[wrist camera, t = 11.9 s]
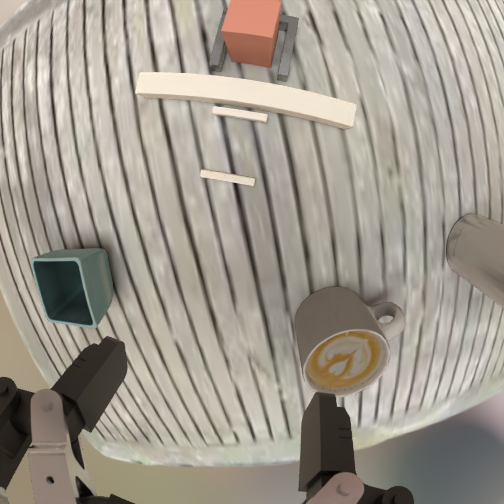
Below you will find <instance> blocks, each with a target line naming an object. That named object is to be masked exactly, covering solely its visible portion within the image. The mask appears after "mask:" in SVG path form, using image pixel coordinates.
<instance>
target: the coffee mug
mask: <svg viewBox="0 0 504 504" xmlns="http://www.w3.org/2000/svg"><path fill="white" fill-rule="evenodd" d="M386 315H390V316H392V317H394V318H393V320H391V321H390V322H389V323H386V324H384V323H380V322H378V320H379V318H381V317H383V316H386ZM404 327H405V316H404V313H403V311H402V310H401V308H400V307H399V306H397V305H396V304H394V303H392V302H383V303H380V304H377V305H374V306H368V305H366V304H365V303H364V302H363V301H362V299H361V298H360V297H359V296H358V295H357V294H356V293H355V292H354V291H352V290H350V289H347V288H344V287H328V288H323V289H321V290H318V291H316V292H314V293H313V294H311V295H310V296H309V297H307V298H306V299H305V300H304V301H303V302H302V304H301V305H300V307H299V309H298V311H297V313H296V316H295V329H296V335H297V342H298V348H299V354H300V361H301V367H302V374H303V378H304V381H305V383H306V384H307V386H308V387H309V388H310V389H311V390H312V391H314V392H323V393H331V394H335V396H336V397H345V396H349V395H353V394H356V393H358V392H361V391H363V390H364V389H366V388H368V387H370V386H371V385H372V384H373V383H375V382H376V381H377V380H378V379H379V378H380V377H381V375H382V374H383V373H384V371H385V370H386V368H387V366H388V363H389V359H390V348H389V345H388V342H387V341H388V340H389V339H391V338H393V337H395V336H397V335H398V334H399V333H401V331H402V330H403V329H404Z"/></svg>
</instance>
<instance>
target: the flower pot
mask: <svg viewBox="0 0 504 504" xmlns="http://www.w3.org/2000/svg"><path fill="white" fill-rule="evenodd" d="M31 267H32V271H33V274H34V278H35V282H36V286H37V289H38V292H39V296H40V299H41V303H42V306H43V309H44V312H45V315H46V318H47V320H48V321H50V322H53V323H60V324H67V325H74V326H80V327H87V328H97V326H98V324H99V323H100V321H101V320H102V318H103V316H104V315H105V313H106V312H107V310H108V308H109V306H110V304H111V301H112V297H113V281H112V276H111V272H110V267H109V261H108V255H107V252H106V251H105V250H104V249H101V248H91V249H62V250H56V251H52V252H49V253H46V254H43V255H40V256H37V257H34V258H32V259H31Z"/></svg>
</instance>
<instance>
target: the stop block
mask: <svg viewBox="0 0 504 504" xmlns="http://www.w3.org/2000/svg"><path fill="white" fill-rule="evenodd" d="M280 10H281V1H279V0H231V1H230V4H229V7H228V10H227V13H226V16H225V20H224V23H223V26H222V30H221V32H222V35H223V37H224V40H225V43H226V46H227V49H228V52H229V54H230V57H231V60H232V62H238V63H245V64H252V65H258V66H264V67H269V68H271V63H272V59H273V55H274V50H275V46H276V42H277V38H278V29H279V20H280Z"/></svg>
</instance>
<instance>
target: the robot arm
mask: <svg viewBox="0 0 504 504" xmlns="http://www.w3.org/2000/svg"><path fill="white" fill-rule="evenodd" d="M447 259H448V263H449V265H450V267H451V268H452V269H453V270H454V271H455V272H456V273H458V274H459V275H460V276H462V277H463V278H464V279H466V280H467V281H468V282H470V283H471V284H472V285H474V286H475V287H476V288H478V289H479V290H480V291H482V292H483V293H484V294H485V295H487V296H488V297H489V298H491V299H492V300H493V301H494V302H496V303H497V304H498V305H499V306H501V307H502V308H503V309H504V225H503V224H500V223H498V222H495V221H493V220H490V219H488V218H485V217H482V216H480V215H477V214H467V215H465V216H463V217H462V218H461V219H459V220H458V221H457V223H456V224H455V225H454V227H453V229H452V230H451V233H450V235H449V238H448V243H447ZM126 373H127V359H126V352H125V344H124V342H122V341H119V340H117V339H114V338H112V337H109V336H107V337H105V338H104V339H103V340H102V342H101V343H100V344H99V345H97V344H95V343H94V344H92V345H90V346H88V347H86V348H85V349H84V350H83V351H82V352H81V353H80V354H79V356H78V358H76V359H75V360H74V361H73V363H72V365H70V366H69V367H68V369H67V370H66V371H65V372H64V374H63V375H62V376H61V377H60V378H59V380H58V381H57V382H56V383H55V385H54V386H53V387H52V388H51V389H43V390H39V391H37V392H36V393H33V392H29V391H25V390H21V389H18V388H17V386H16V384H15V383H14V381H13V380H12V379H10V378H7V377H1V378H0V504H10V503H9V500H8V496H7V493H6V489H7V487H8V485H9V483H10V481H11V479H12V477H13V475H14V473H15V471H16V469H17V467H18V466H19V464H20V462H21V460H22V458H23V457H24V454H25V453H26V451H27V449H28V462H29V469H30V476H31V482H32V488H33V494H34V499H35V503H36V504H134V503H132V502H129V501H127V500H124V499H122V498H120V497H118V496H115V495H113V494H111V495H110V497H104V496H97V493H96V490H95V487H94V484H93V482H92V480H91V478H90V476H89V473H88V470H87V466H86V462H85V457H84V453H83V448H82V444H81V438H80V432H81V431H82V429H85V430H87V431H89V432H92V430H93V429H94V427H95V425H96V424H97V422H98V420H99V419H100V417H101V415H102V414H103V412H104V411H105V409H106V407H107V406H108V404H109V402H110V401H111V399H112V398H113V396H114V394H115V393H116V391H117V390H118V388H119V386H120V385H121V383H122V382H123V380H124V378H125V376H126ZM31 443H32V446H31V447H29V446H30V444H31ZM298 491H303V492H307V495H306V500H304V501H303V502H302V503H301V504H414V499H413V495H412V494H411V492H410V491H409V490H408V489H407V488H405V487H402V486H395V487H392V488H390V489H388V490H383V489H379V488H375V487H371V486H368V485H366V484H364V483H363V482H362V480H361V479H360V478H359V477H358V476H357V474H356V471H355V461H354V450H353V440H352V431H351V422H350V417H349V415H348V413H347V412H346V410H345V408H344V407H337V403H336V396H335V394H331V393H323V392H316V393H315V394H314V396H313V398H312V400H311V402H310V404H309V405H308V407H307V409H306V411H305V413H304V415H303V419H302V425H301V452H300V473H299V489H298Z"/></svg>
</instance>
